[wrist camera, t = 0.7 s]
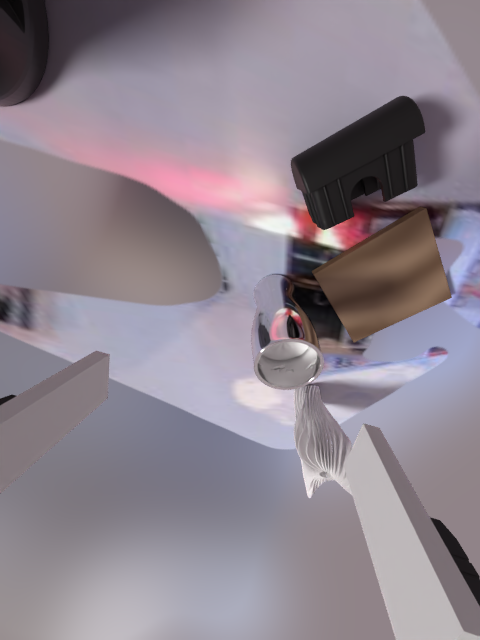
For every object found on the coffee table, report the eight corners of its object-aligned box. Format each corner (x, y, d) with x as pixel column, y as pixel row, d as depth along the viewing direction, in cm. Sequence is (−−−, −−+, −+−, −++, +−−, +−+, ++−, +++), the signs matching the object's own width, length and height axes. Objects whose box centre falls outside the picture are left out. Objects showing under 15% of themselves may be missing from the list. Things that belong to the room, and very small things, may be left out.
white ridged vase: (286, 407, 50) (302, 514, 35) (284, 379, 45) (303, 488, 30) (327, 404, 49) (363, 513, 34) (330, 376, 44) (372, 486, 29)
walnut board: (311, 271, 33) (313, 274, 32) (420, 206, 29) (426, 208, 28) (351, 337, 39) (353, 342, 38) (445, 293, 35) (451, 297, 34)
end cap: (381, 103, 24) (423, 85, 18) (393, 177, 27) (431, 182, 22) (285, 159, 27) (296, 158, 21) (306, 220, 30) (320, 234, 24)
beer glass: (302, 306, 37) (331, 383, 24) (258, 318, 38) (263, 397, 25) (292, 264, 33) (319, 328, 20) (243, 279, 34) (241, 348, 22)
